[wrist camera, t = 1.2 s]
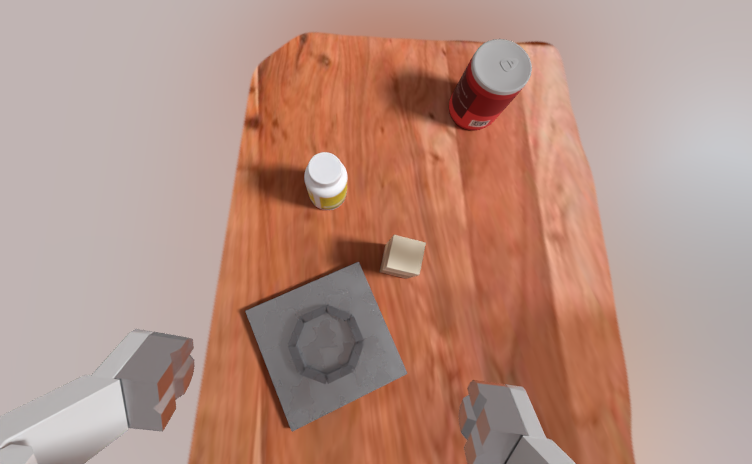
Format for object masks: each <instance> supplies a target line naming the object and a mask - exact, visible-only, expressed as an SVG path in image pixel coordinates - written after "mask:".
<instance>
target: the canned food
mask: <svg viewBox="0 0 752 464" xmlns="http://www.w3.org/2000/svg"><path fill="white" fill-rule="evenodd" d="M531 71H532V67H531V61H530V58H529V56H528V54H527V53H526V52H525V50H524V49H523V48H522V47H520V46H519V45H518V44H516V43H514V42H512V41H509V40H504V39H495V40H491V41H488V42H486V43H484V44H483V45H481V46H480V47H479V48H478V50H477V51H476V52H475V54H474V55H473V57H472V59H471V60H470V62H469V64H468V66H467V68H466V70H465V71H464V73H463V75H462V77H461V79H460V81H459V83H458V84H457V86H456V88H455V90H454V92H453V94H452V96H451V98H450V101H449V111H450V115H451V117H452V119H453V120H454V122H455V123H456V124H457V125H459V126H460V127H462V128H464V129H467V130H480V129H483V128H485V127H487V126H489V125H490V124H491V123H492V122H493V121H494V120H495V119H496V118H497V117H498V116H499V115H500V114H501V112H502V111H503V110H504V109H505V108H506V107H507V106H508V105H509V103H510V102H511V101H512V100H513V99H514V98H515V97H516V95H517V94H518V93H519V92H520V91H521V90H522V88H523V87H524V86H525V85H526V83H527V81H528V80H529V78H530V76H531Z"/></svg>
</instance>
